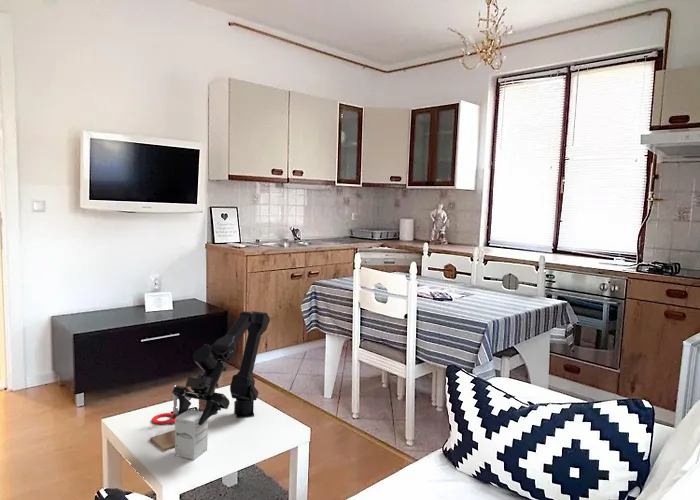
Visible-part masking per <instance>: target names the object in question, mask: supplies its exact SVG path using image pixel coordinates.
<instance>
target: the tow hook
mask: <svg viewBox="0 0 700 500" xmlns="http://www.w3.org/2000/svg"><path fill="white" fill-rule="evenodd" d="M176 386H177V385H173V388H174V387H176ZM172 395H173V396H172V398H173V399H172V401H173V407H172V412H164V413H159V414H156V415H154V416H153V417H152V419H151V423H152V424H155V425H167V424H171V425H174V424H175V418H176V417H177V416H178V413H179V406H178V398H177V397H176V396H175V395H174V394H173V393H172ZM164 417H171V418H170V419H165V420H158V419H160V418H164Z"/></svg>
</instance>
